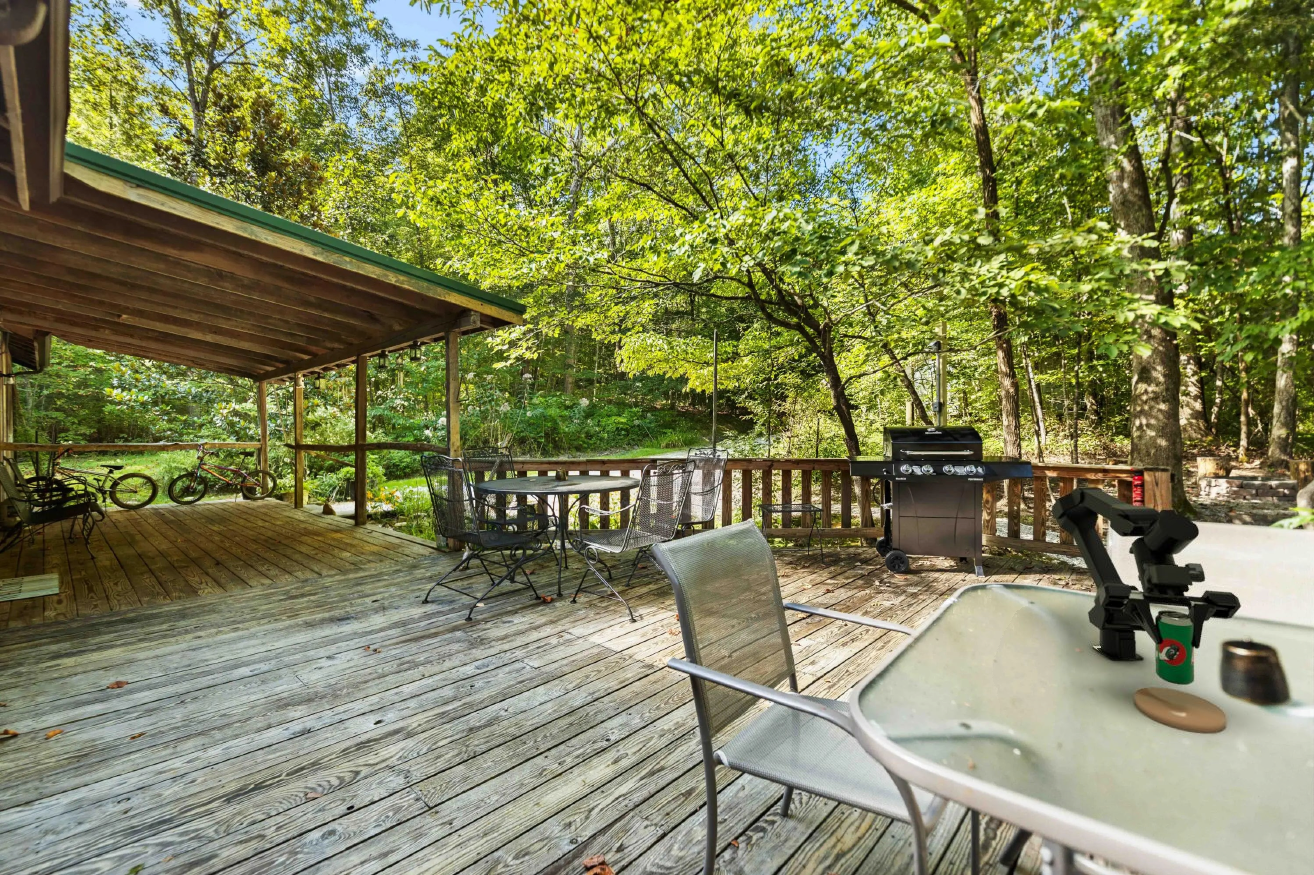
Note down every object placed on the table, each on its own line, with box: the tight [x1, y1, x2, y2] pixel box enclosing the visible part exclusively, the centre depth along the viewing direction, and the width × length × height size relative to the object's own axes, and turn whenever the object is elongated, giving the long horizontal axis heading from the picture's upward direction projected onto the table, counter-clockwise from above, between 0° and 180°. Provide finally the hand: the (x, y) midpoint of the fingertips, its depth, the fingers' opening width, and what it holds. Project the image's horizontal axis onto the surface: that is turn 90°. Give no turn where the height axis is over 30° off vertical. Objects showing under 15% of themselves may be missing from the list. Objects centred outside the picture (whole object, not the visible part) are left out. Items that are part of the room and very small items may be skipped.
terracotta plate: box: [1133, 686, 1227, 734], centre depth 99 cm, size 12×12×2 cm
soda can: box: [1154, 609, 1195, 686], centre depth 99 cm, size 5×5×12 cm
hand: (1177, 645), depth 97 cm, fingers closed on soda can, 5 cm apart
